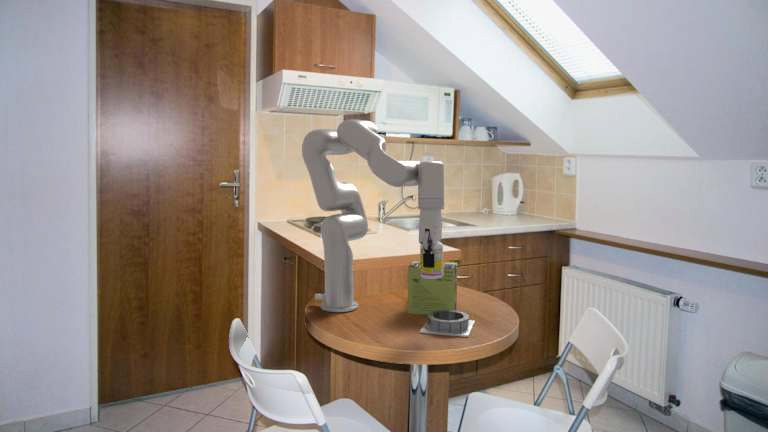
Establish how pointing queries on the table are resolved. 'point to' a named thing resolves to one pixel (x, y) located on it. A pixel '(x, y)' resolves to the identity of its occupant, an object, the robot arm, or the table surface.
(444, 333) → the ring collar
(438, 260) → the supplement bottle
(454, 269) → the protein box
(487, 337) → the table surface
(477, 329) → the table surface
